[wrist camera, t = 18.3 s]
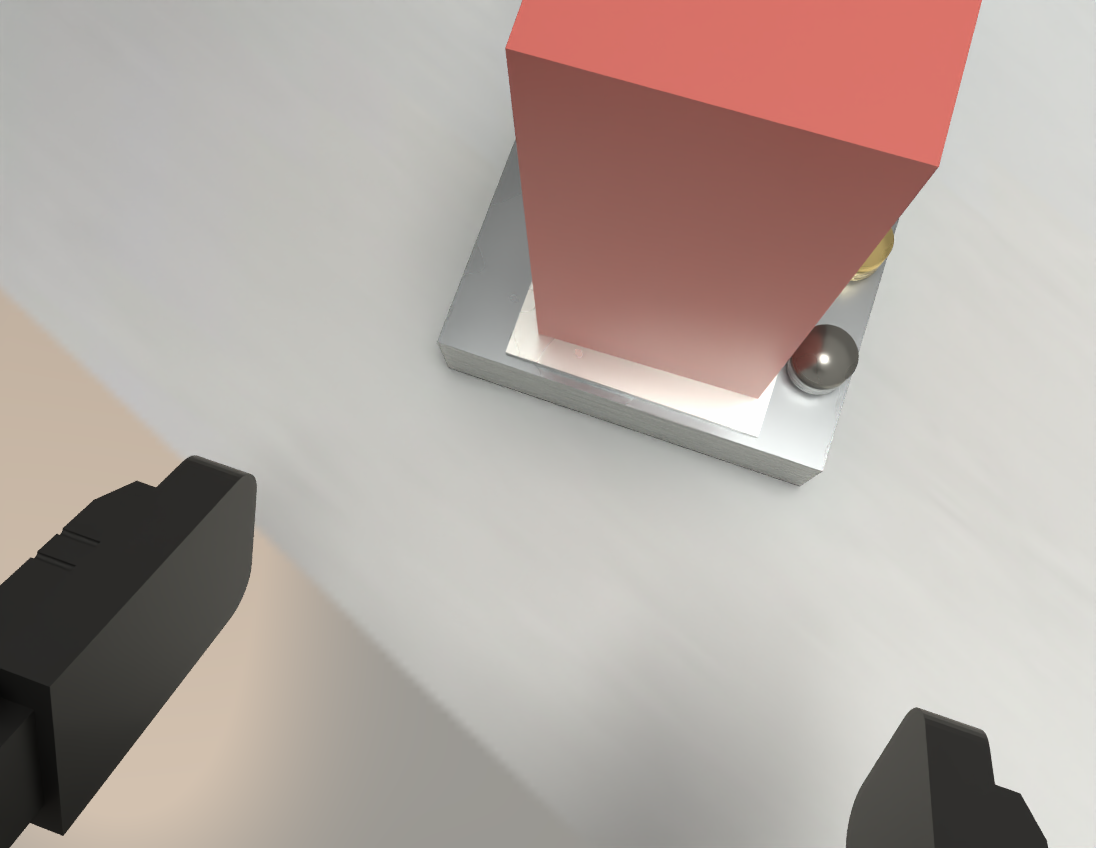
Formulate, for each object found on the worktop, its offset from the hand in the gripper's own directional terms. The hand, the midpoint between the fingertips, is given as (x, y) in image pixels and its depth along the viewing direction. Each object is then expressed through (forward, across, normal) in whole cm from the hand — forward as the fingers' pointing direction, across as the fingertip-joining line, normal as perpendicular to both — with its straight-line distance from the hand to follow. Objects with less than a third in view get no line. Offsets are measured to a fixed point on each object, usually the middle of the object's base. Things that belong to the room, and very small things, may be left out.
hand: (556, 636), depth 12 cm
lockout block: (+10, 0, 0) cm, 11 cm away
